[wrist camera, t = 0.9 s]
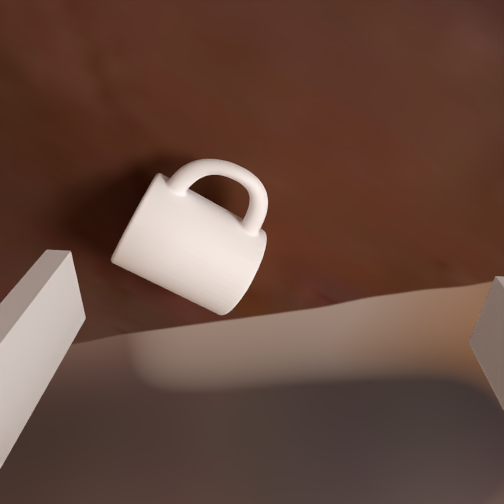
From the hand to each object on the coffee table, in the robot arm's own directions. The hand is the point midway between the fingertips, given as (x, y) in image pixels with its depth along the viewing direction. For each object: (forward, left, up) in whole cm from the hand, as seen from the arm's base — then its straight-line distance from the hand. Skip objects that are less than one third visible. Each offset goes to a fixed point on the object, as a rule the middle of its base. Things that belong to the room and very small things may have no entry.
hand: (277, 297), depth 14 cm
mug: (+2, -10, -23) cm, 25 cm away
